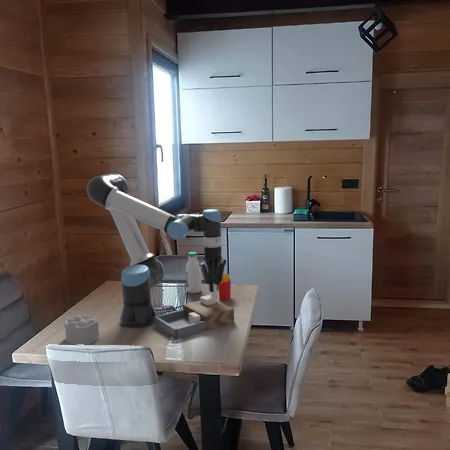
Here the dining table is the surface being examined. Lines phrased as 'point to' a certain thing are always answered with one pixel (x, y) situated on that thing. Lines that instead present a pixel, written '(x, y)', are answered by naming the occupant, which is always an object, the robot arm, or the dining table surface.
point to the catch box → (178, 324)
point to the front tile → (193, 318)
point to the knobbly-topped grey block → (81, 330)
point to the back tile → (208, 300)
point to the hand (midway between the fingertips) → (214, 298)
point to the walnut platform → (211, 313)
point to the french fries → (225, 288)
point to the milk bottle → (193, 274)
